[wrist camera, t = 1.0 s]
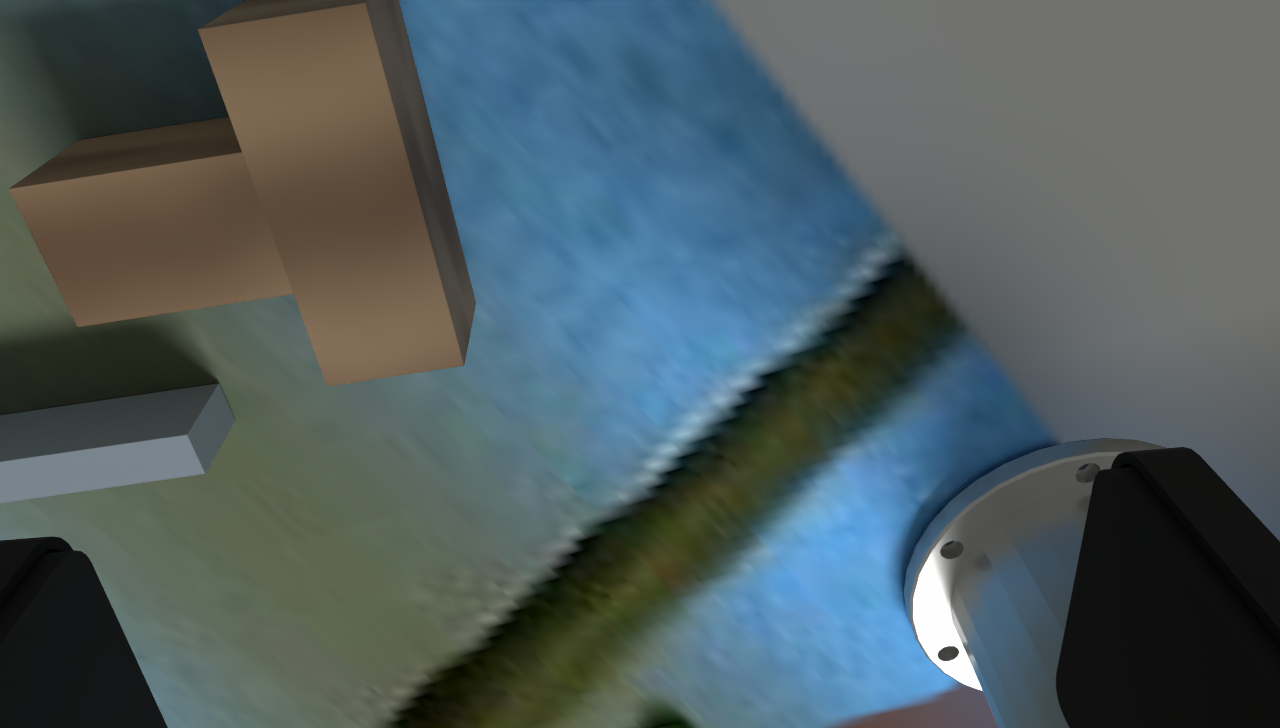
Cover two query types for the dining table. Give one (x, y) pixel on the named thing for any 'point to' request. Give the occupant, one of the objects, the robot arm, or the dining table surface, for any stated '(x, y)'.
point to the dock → (111, 442)
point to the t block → (275, 196)
